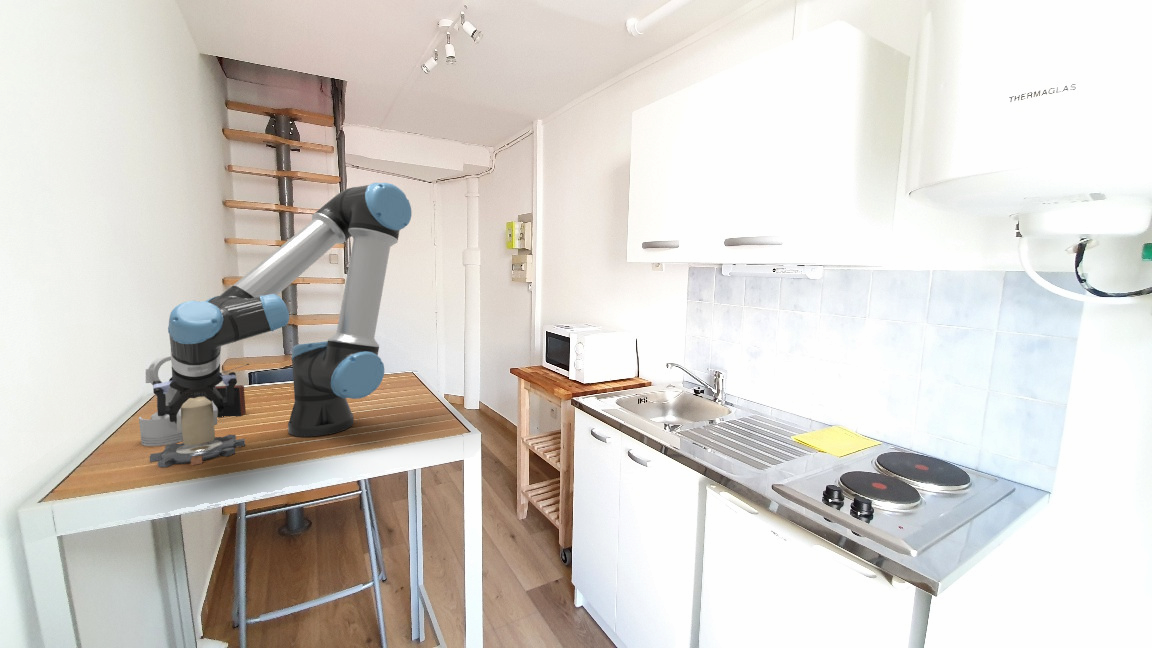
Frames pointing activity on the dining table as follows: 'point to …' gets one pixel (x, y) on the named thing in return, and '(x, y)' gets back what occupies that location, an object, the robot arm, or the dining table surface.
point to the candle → (197, 421)
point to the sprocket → (197, 451)
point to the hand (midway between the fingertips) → (197, 422)
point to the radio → (239, 396)
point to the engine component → (159, 426)
